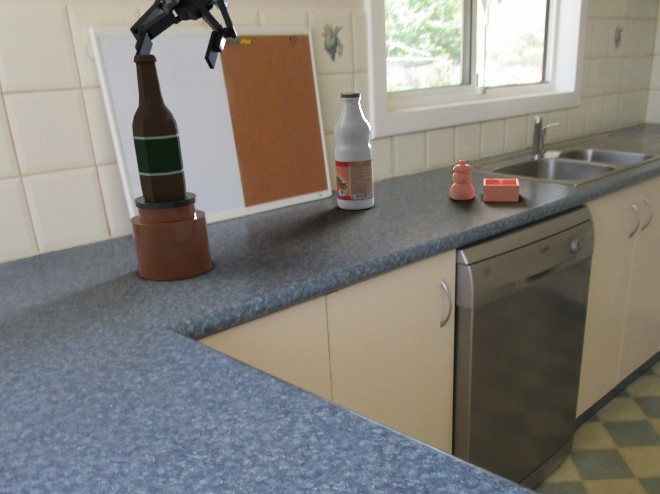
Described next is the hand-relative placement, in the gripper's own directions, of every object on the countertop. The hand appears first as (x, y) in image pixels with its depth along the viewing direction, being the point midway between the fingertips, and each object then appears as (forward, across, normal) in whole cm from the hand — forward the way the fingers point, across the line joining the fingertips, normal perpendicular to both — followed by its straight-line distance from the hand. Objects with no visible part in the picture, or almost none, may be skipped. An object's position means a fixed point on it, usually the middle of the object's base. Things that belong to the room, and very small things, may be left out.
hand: (173, 64), depth 121 cm
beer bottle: (+23, 0, -8) cm, 25 cm away
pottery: (-14, -55, -65) cm, 87 cm away
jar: (+33, 0, -18) cm, 37 cm away
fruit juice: (-6, -23, -56) cm, 61 cm away
